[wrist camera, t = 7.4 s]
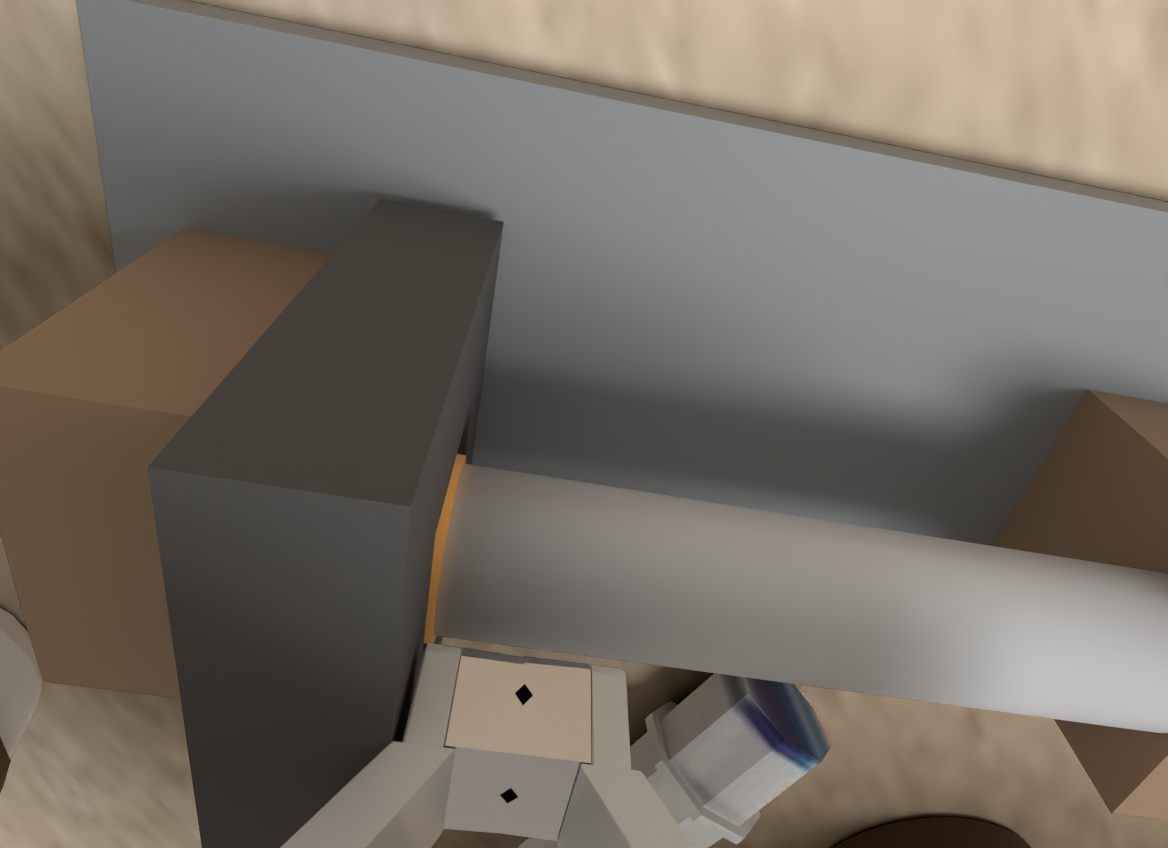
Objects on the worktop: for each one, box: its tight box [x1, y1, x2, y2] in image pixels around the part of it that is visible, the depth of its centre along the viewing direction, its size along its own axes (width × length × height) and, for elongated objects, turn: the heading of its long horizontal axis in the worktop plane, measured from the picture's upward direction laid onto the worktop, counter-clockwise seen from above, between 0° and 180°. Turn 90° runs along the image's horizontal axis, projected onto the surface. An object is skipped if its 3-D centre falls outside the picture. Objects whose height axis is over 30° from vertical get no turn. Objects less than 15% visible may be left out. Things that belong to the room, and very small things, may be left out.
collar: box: [147, 199, 504, 848], centre depth 13 cm, size 2×9×9 cm, turn 170°
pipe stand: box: [0, 0, 1168, 821], centre depth 16 cm, size 26×14×8 cm, turn 79°
